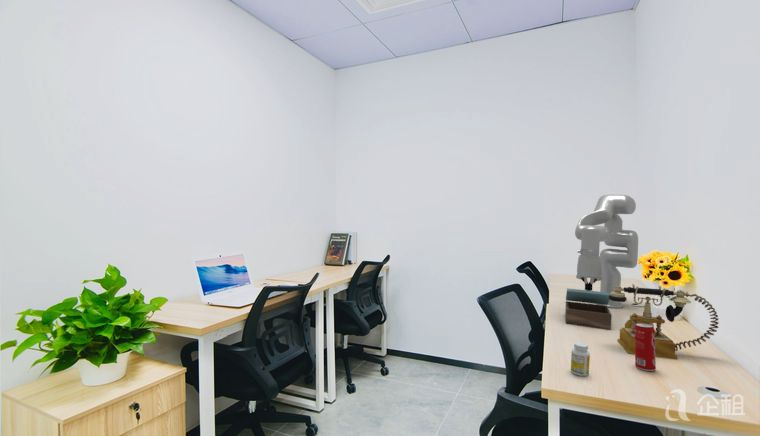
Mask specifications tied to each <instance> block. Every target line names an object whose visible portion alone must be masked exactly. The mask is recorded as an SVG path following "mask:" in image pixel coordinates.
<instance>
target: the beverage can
mask: <svg viewBox="0 0 760 436" xmlns="http://www.w3.org/2000/svg"><path fill="white" fill-rule="evenodd" d="M653 325H654V324H653ZM653 325H651V324H646V323H636V325H635V327H634V334H635V354H634V361H635V362H634V366H635V367H636V368H637V369H639V370H642V371H647V372H654V371H655V370H657V366H656V365H657V364H656V358H657V357H655V331H656V328H655V327H653Z"/></svg>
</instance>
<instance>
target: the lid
mask: <svg viewBox="0 0 760 436" xmlns="http://www.w3.org/2000/svg"><path fill="white" fill-rule="evenodd" d="M609 295H611V293H607V292H600V291H595V290H592V291H588V290H585V289H576V288H575V289H574V288H567V289H566V294H565V301H569V302H578V303H586V304H595V305H598V304H602V305H607V304H608V302H609V300H610V299H609Z"/></svg>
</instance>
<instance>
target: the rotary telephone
mask: <svg viewBox="0 0 760 436" xmlns="http://www.w3.org/2000/svg"><path fill="white" fill-rule="evenodd" d="M631 285H632V286H628V287H625V286H624V287H622V286H615V289H614V290H615V292H611V295H609V299H610V300H612V301H617V302H620V303H625V302H626V301H627V297H626V294H625V293H627V294H633V302H634V303H635V304H637V305H641V304H642V303H643V301H644V300H645V303H644V309H643V313H642V315H638V314H637V313H636V312H633V313H632V314H630V315H629V319H628V320H627V321H626V322H625V323H624V327H623V326H622V328H620V329H619V338H617V340H616V341H617V343H619V345H620V346H621V348H623V349H624V351H626V353H628V354H629V355H635V334H634V327H635V325H636V323H646V324H651V325H653V327H654V325H655V324H656V326H655V327H654V328H655V358H660V359H661V358H663V359H671V360H678V359H679V358H678V355H677V354H676V352H677V351H678V350H681V351H682V349H683V348H682V346H683V347H684V349H686V348H687V346H688V347H689V348H691V347H692V345H691V343H692V344H693V346H695V347H696V346H697V344H696V342H697V343H698V344H699V345H702V342H705V343H706V339H711V337H710V336H715V334H714V333H715V332H716V333H717V331H718V330H717V329H719V326H718V325H719V323H720V322H719V315H718V313H717V311H716V308H715V307H713V305H712V304H711V303H710V302H709V301H707V299H706V298H704V297H703V296H701V295H698V294H696V293H693V294H689V292H688V291H685V290H681V289H679V290H678V289H677V290H676V291H674V290H669V289H667V288H663V289H662V286H661V285H659V286H658V288H649V287H648V288H647V287H639V286H635V283H633V284H631ZM637 294H638V295H647V296H645V297H639V296H638V297H637V299H636V295H637ZM648 295H649V296H648ZM650 296H660V302H659V298H651V297H650ZM669 296H672V297H670V298H669V301H671V302H673V304H674V306H675V307H673V305H671V304H669V305H667V306H666V309H665V318H666V320H667V321H669V322H670V323H673V322H674V321H675V318H676V317H678V316H679V315H680V314H681V313H682V311H683V310H684V308H685V305H687V304H691V303H692V301H691V300H689V299H688V298H687V297H695V298H694V301H696V302H698V303H699V304H700V303H701V305H702V306H703V305H704V309H705V308H707V309H706V310H707V311H708V313H709V317H710V318H709V319H710V324H709V326H710V327H708V330H706V332H704V333H703V335H700V336H699V337H698V338H697V337H696V339H695V338H694V339H693V340H688V341H687V340H685V341H684V342H683V341H680V342H679V343H678V342H677V343H674V341H673V340H672V339H671V338H670V337H669V336H667V335H666V334H664V333H663V331H662V324H665V323H666V320H665V319H663V316H661V315H660V314H658V315H657V316H652V310H651V300H652V303H653V305H654V306H656V307H657V306H658V307H659V306H661V305H662V304H663V300H664V299H663V298H664V297H669ZM685 296H686V297H685ZM640 299H641V301H640ZM636 300H637V301H636ZM638 301H640V302H638ZM655 301H656V302H655ZM658 302H659V303H658ZM657 303H658V304H657ZM710 310H711V311H710ZM705 338H706V339H705ZM701 341H702V342H701ZM686 344H687V346H686Z"/></svg>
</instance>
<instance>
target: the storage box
mask: <svg viewBox="0 0 760 436" xmlns="http://www.w3.org/2000/svg"><path fill="white" fill-rule="evenodd" d="M564 310H565V311H564V312H565V313H564V314H565V315H564V316H565V324H566V325H572V326H579V327H587V328H593V329H601V330H607V331H611V330H612V315H613V314H612V313H611V310H610V309H609V307H607V306H604V305H598V304H593V303H585V302H576V301H567V300H565V309H564Z"/></svg>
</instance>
